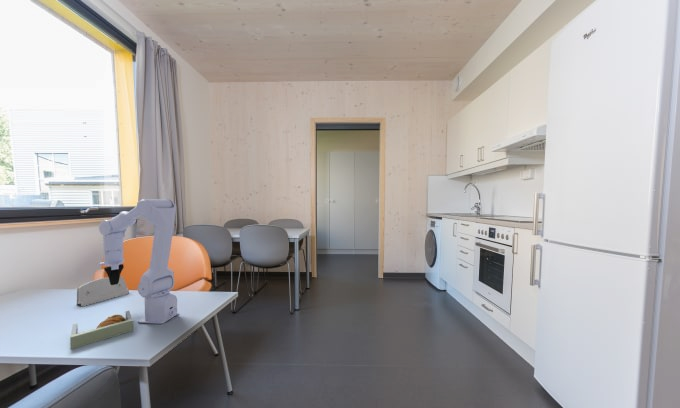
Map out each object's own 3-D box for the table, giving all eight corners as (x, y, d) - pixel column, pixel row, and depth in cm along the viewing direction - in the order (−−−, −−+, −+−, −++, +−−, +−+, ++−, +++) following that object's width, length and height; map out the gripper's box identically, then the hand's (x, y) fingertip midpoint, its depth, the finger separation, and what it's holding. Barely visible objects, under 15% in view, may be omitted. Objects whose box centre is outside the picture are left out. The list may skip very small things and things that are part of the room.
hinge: (80, 307, 100) (76, 283, 101) (76, 308, 102) (72, 285, 103) (130, 293, 114) (126, 272, 116) (125, 294, 116) (122, 274, 118)
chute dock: (73, 333, 80) (72, 323, 80) (129, 318, 90) (129, 309, 90) (70, 349, 71) (70, 337, 71) (133, 330, 81) (132, 320, 81)
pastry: (114, 336, 78) (113, 324, 78) (87, 341, 76) (86, 329, 76) (127, 322, 87) (127, 312, 87) (103, 326, 85) (103, 315, 85)
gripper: (99, 249, 98) (99, 282, 99) (99, 254, 88) (100, 291, 88) (122, 246, 103) (123, 278, 104) (125, 251, 93) (126, 286, 93)
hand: (114, 284), depth 96 cm, fingers closed
